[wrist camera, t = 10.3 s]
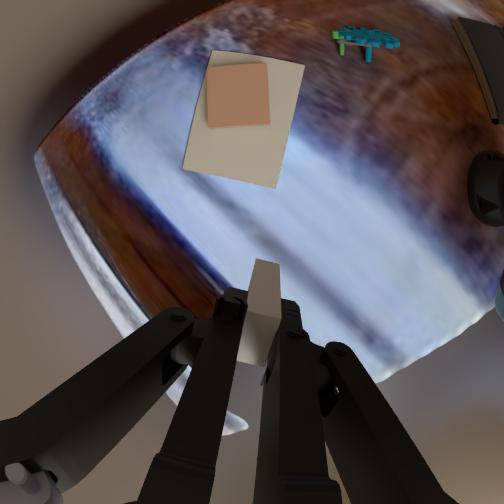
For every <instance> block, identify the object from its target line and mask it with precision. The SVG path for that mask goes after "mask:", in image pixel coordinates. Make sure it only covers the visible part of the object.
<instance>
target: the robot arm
mask: <svg viewBox="0 0 504 504" xmlns="http://www.w3.org/2000/svg"><path fill="white" fill-rule="evenodd" d="M468 197H469V202H470V206H471V208H472V211H473V213H474V215H475V216H476V218H477V219H478V220H479V221H480V222H482V223H484V224H486V225H489V226H492V227H499V226H504V154H502V153H500V152H497V151H483V152H481V153H479V154H478V155H477V156H476V157H475V159H474V160H473V162H472V164H471V167H470V170H469V175H468ZM495 307H496V310H497V312H498V314H499V316H500V317H501V319H502V320H503V321H504V270H503V274H502V277H500V280H499V287H498V290H497V293H496V296H495ZM267 360H268V362H267ZM236 361H240V362H245V363H249V364H254V365H259V366H263V367H264V366H265V365H266V362H267V368H266V370H265V373H264V376H263V379H262V381H261V384H260V385H261V386H262V385H263V398H262V411H261V423H260V435H259V446H258V457H257V468H256V478H255V488H254V498H253V504H342V496H341V490H340V486H339V484H338V482H337V481H335V480H331V479H330V478H329V475H328V467H327V458H326V449H325V442H326V444H327V446H328V449H329V451H330V454H331V456H332V459H333V461H334V463H335V466H336V468H337V471H338V473H339V475H340V478H341V480H342V483H343V485H344V487H345V490H346V492H347V495H348V497H349V499H350V502H351V504H459V503H457V502H456V501H455V500H454V499H453V498H451V497H450V496H449V495H448V494H446V493H445V492H444V491H443V489H442V488H441V486H440V484H439V483H438V481H437V479H436V478H435V476H434V474H433V473H432V471H431V470H430V468H429V466H428V465H427V463H426V461H425V460H424V458H423V457H422V455H421V453H420V452H419V450H418V449H417V447H416V446H415V444H414V442H413V441H412V439H411V438H410V436H409V435H408V433H407V431H406V430H405V428H404V427H403V425H402V424H401V422H400V421H399V419H398V417H397V416H396V414H395V413H394V411H393V410H392V408H391V407H390V406H389V404H388V402H387V401H386V399H385V398H384V396H383V395H382V394H381V392H380V390H379V389H378V387H377V386H376V384H375V383H374V381H373V380H372V378H371V377H370V375H369V374H368V372H367V371H366V369H365V368H364V366H363V365H362V364H361V362H360V361H359V359H358V358H357V356H356V355H355V353H354V352H353V350H352V349H351V348H350V347H348V346H347V345H345V344H344V343H341V342H335V341H334V342H329V343H327V344H326V346H325V348H324V347H321V346H319V345H316V344H314V343H312V342H311V341H310V338H309V335H308V333H307V332H306V331H305V330H304V329H303V327H302V320H301V314H300V308H299V306H298V305H297V303H296V302H295V301H291V300H286V299H282V298H281V291H280V267H279V264H277V263H273V262H269V261H265V260H261V259H256V260H255V265H254V269H253V273H252V277H251V281H250V285H249V289H248V291H245V290H240V289H236V288H232V287H230V288H228V289H226V290H225V292H224V294H223V295H220V296H218V297H217V298H216V303H215V308H214V313H213V317H212V318H209V319H194V315H193V314H192V313H191V312H190V311H189V310H187V309H184V308H181V307H169V308H167V309H165V310H163V311H162V312H161V313H159V314H158V315H157V316H155V317H154V318H152V319H151V320H150V321H148V322H147V323H145V324H144V325H143V326H141V327H140V328H138V329H137V330H136V331H134V332H133V333H132V334H130V335H129V336H127V337H126V338H125V339H123V340H122V341H121V342H119V343H118V344H116V345H115V346H113V347H112V348H111V349H109V350H108V351H107V352H105V353H104V354H102V355H101V356H100V357H98V358H97V359H96V360H94V361H93V362H91V363H90V364H89V365H87V366H86V367H85V368H83V369H82V370H80V371H79V372H78V373H76V374H75V375H73V376H72V377H71V378H69V379H68V380H67V381H65V382H64V383H62V384H61V385H60V386H58V387H57V388H56V389H54V390H53V391H51V392H50V393H49V394H47V395H46V396H45V397H43V398H42V399H41V400H39V401H38V402H36V403H35V404H34V405H33V406H31V407H30V408H28V409H27V410H25V411H24V412H23V413H21V414H20V415H19V416H17V417H14V418H10V419H6V420H2V421H0V504H63V498H62V495H61V493H63V492H65V491H67V490H68V489H70V488H72V487H73V486H75V485H76V484H77V483H79V482H80V481H81V480H82V479H83V478H84V477H86V475H88V473H90V471H91V470H92V469H93V468H94V467H95V466H96V465H97V464H98V463H99V462H100V461H101V460H102V459H103V458H104V457H105V456H106V455H107V454H108V453H109V452H110V451H111V450H112V449H113V448H114V447H115V446H116V445H117V444H118V443H119V441H120V440H121V439H122V438H123V437H124V436H125V435H126V434H127V433H128V432H129V431H130V430H131V429H132V428H133V427H134V425H135V424H136V423H137V422H138V421H139V420H140V419H141V418H142V417H143V416H144V415H145V414H146V412H147V411H148V410H149V409H150V408H151V407H152V406H153V405H154V404H155V403H156V402H157V401H158V399H159V398H160V397H161V396H162V395H163V394H164V393H165V392H166V391H167V390H168V388H169V387H170V386H171V385H172V384H173V383H174V382H175V381H176V379H177V378H178V377H179V376H180V375H181V374H182V373H183V372H184V371H185V369H186V368H187V366H188V364H189V365H193V367H192V370H191V372H190V375H189V378H188V380H187V383H186V385H185V388H184V390H183V393H182V396H181V398H180V401H179V403H178V406H177V409H176V411H175V414H174V416H173V419H172V422H171V424H170V427H169V430H168V432H167V435H166V438H165V440H164V443H163V446H162V448H161V450H160V452H159V453H157V454H156V455H155V457H154V458H153V461H152V463H151V465H150V468H149V471H148V473H147V476H146V478H145V481H144V484H143V487H142V489H141V492H140V495H139V497H138V500H137V501H134V502H128V503H124V504H209V502H210V497H211V492H212V487H213V482H214V477H215V466H216V460H217V456H218V451H219V445H220V441H221V436H222V431H223V426H224V421H225V416H226V411H227V406H228V401H229V396H230V391H231V386H232V381H233V375H234V370H235V366H236ZM263 383H264V384H263ZM336 387H337V388H338V390H339V393H338V392H337V390H336ZM324 439H325V440H324Z"/></svg>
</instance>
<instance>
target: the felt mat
mask: <svg viewBox="0 0 504 504" xmlns="http://www.w3.org/2000/svg"><path fill="white" fill-rule="evenodd" d="M256 63H267V69H268V87H269V106H270V126H256V127H237V128H223V129H212V130H211V129H209V128H208V105H207V71H206V74H205V77H204V81H203V84H202V88H201V92H200V95H199V99H198V103H197V107H196V111H195V115H194V119H193V123H192V127H191V132H190V136H189V140H188V145H187V149H186V154H185V159H184V164H183V169H185V170H190V171H196V172H201V173H206V174H211V175H216V176H221V177H226V178H230V179H235V180H240V181H244V182H249V183H253V184H257V185H261V186H266V187H270V188H274V189H276V185H277V181H278V177H279V173H280V169H281V165H282V160H283V156H284V152H285V148H286V144H287V140H288V135H289V131H290V127H291V123H292V119H293V114H294V110H295V106H296V102H297V97H298V93H299V89H300V85H301V80H302V76H303V72H304V67H305V65H301V64H297V63H292V62H288V61H283V60H278V59H273V58H268V57H262V56H256V55H250V54H243V53H235V52H226V51H216V50H213V51H212V54H211V57H210V61H209V64H208V67H207V68H211V67H219V66H229V65H240V64H256Z"/></svg>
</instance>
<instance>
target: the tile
mask: <svg viewBox="0 0 504 504" xmlns="http://www.w3.org/2000/svg"><path fill="white" fill-rule="evenodd" d="M207 105H208V128H209V129H211V130H212V129H223V128H237V127H256V126H270V106H269V87H268V69H267V63H256V64H240V65H229V66H219V67H211V68H207Z"/></svg>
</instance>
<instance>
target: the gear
mask: <svg viewBox="0 0 504 504" xmlns="http://www.w3.org/2000/svg"><path fill="white" fill-rule="evenodd" d="M332 38H333V39H337V43H340V55H344V44H350V45H360V46H366V54H365V61H367V62H371V56H372V47H378V48H380V44H384V45H385V47H386V48H392V49H393V46H394V47H400V42H399V41H398V38H396V37H392V35H391V34H389V33H381V31H380V30H377V29H373V30H368V28H366V27H360V29H356V27H354V26H348V29H347V28H345V27H342V28H340V30H339V31H336V30H333V31H332Z"/></svg>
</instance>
